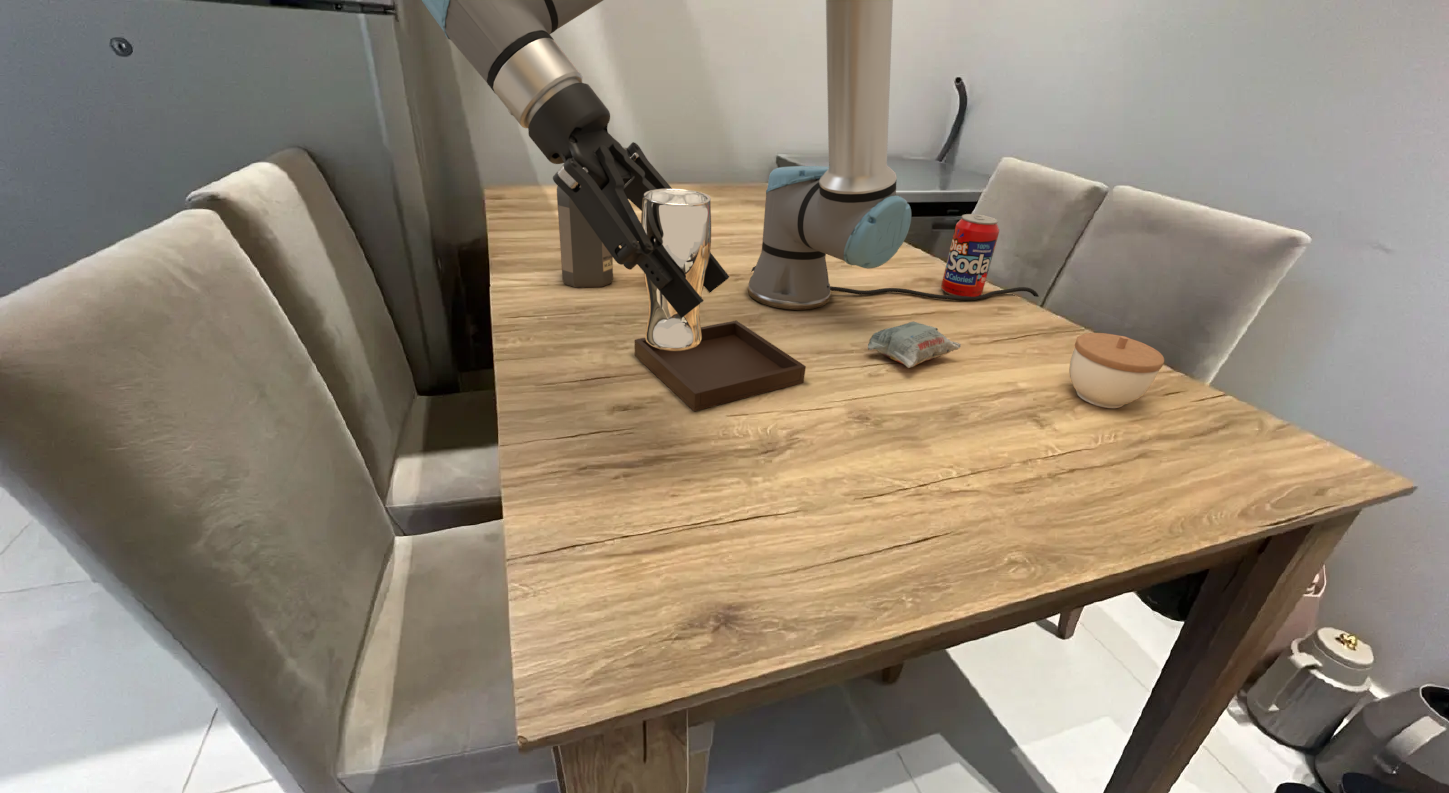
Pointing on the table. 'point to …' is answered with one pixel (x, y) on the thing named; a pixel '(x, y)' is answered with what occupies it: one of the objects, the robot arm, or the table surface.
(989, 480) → the table surface
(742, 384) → the serving tray
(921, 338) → the packaged food
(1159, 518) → the table surface
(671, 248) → the beer glass
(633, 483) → the table surface
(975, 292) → the soda can
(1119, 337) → the trinket box
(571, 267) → the liquor
